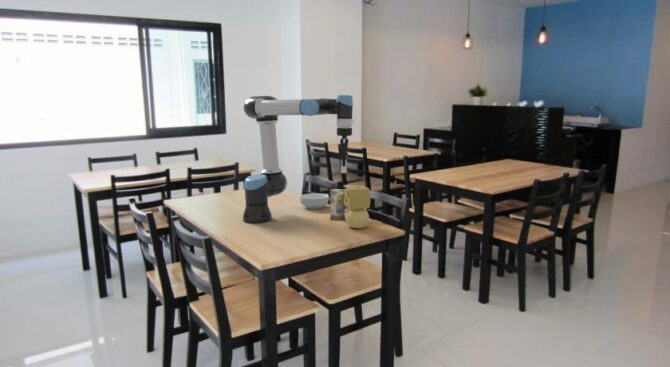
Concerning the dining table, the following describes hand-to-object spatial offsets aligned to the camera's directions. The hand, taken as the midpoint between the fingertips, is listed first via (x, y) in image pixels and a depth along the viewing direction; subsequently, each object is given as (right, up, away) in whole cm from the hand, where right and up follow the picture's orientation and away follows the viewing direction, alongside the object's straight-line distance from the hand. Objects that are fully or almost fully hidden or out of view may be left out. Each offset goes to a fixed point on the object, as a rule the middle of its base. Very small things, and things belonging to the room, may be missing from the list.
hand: (343, 170), depth 230 cm
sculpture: (+7, -29, +2) cm, 29 cm away
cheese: (+7, -18, 0) cm, 19 cm away
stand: (0, -25, +18) cm, 31 cm away
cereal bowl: (-16, -21, +42) cm, 50 cm away
